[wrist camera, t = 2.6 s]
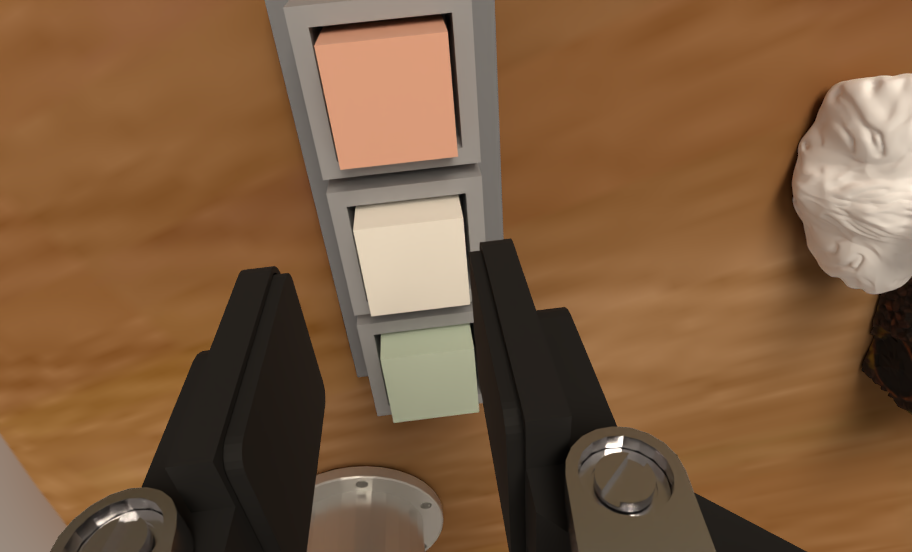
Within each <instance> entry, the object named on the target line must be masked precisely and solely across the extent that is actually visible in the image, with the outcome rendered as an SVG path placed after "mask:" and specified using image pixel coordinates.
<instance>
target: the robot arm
mask: <svg viewBox="0 0 912 552" xmlns="http://www.w3.org/2000/svg"><path fill="white" fill-rule="evenodd" d="M479 249H480V251H472V252H469V269H470V281H471V294H472V306H473V319H474V332H475V344H476V357H477V368H478V377H479V384H480V389H481V395H482V401H483V406H484V412H485V418H486V423H487V429H488V435H489V440H490V446H491V452H492V457H493V463H494V468H495V474H496V480H497V485H498V491H499V497H500V502H501V508H502V514H503V519H504V525H505V531H506V536H507V542H508V547H509V552H806V551H804V550H802V549H801V548H799V547H797V546H795V545H793V544H791V543H789V542H787V541H785V540H783V539H782V538H780V537H778V536H776V535H774V534H772V533H770V532H768V531H766V530H764V529H763V528H761V527H759V526H757V525H755V524H753V523H751V522H749V521H747V520H745V519H744V518H742V517H740V516H738V515H736V514H734V513H732V512H730V511H728V510H726V509H725V508H723V507H721V506H719V505H717V504H715V503H713V502H711V501H709V500H707V499H706V498H704V497H702V496H700V495H698V494H696V493H694V491H693V489H692V486H691V483H690V481H689V478H688V475H687V473H686V470H685V469H684V467H683V465H682V463H681V461H680V460H679V458H678V456H677V455H676V454H675V453H674V452H673V451H672V450H671V449H670V448H669V447H668V446H667V445H666V444H665V443H664V442H662V441H660V440H659V439H657V438H655V437H653V436H652V435H650V434H648V433H645V432H642V431H639V430H636V429H633V428H627V427H617V425H616V423H615V420H614V418H613V415H612V413H611V411H610V408H609V406H608V403H607V401H606V398H605V396H604V394H603V391H602V389H601V386H600V384H599V382H598V379H597V377H596V374H595V372H594V370H593V367H592V365H591V362H590V360H589V358H588V355H587V353H586V350H585V348H584V345H583V343H582V341H581V338H580V336H579V333H578V331H577V329H576V326H575V324H574V321H573V319H572V317H571V314H570V313H569V311H568V309H567V308H565V307H562V308H553V309H545V310H537V311H536V309H535V306H534V303H533V300H532V297H531V294H530V291H529V288H528V285H527V282H526V279H525V276H524V273H523V271H522V268H521V265H520V262H519V259H518V256H517V253H516V250H515V247H514V244H513V241H512V239H503V240H494V241H486V242H480V246H479ZM324 409H325V389H324V384H323V380H322V377H321V374H320V370H319V367H318V364H317V360H316V357H315V353H314V350H313V347H312V343H311V340H310V337H309V333H308V330H307V327H306V323H305V320H304V316H303V313H302V310H301V306H300V303H299V300H298V296H297V293H296V290H295V286H294V283H293V280H292V277H291V275H290V274H289V273H285V274H280V271H279V270H278V268H277V267H275V266H273V267H264V268H256V269H247V270H242V271H241V272H240V273H239V275H238V278H237V281H236V283H235V286H234V288H233V291H232V294H231V296H230V299H229V301H228V304H227V307H226V309H225V312H224V315H223V317H222V320H221V322H220V325H219V328H218V330H217V333H216V335H215V338H214V341H213V343H212V346H211V348H210V350H208V351H202V352H200V353H199V354H197V356H196V357H195V359H194V361H193V363H192V365H191V368H190V370H189V373H188V375H187V378H186V380H185V382H184V385H183V387H182V390H181V392H180V395H179V397H178V400H177V402H176V404H175V407H174V409H173V412H172V414H171V417H170V419H169V422H168V424H167V426H166V429H165V431H164V434H163V436H162V439H161V441H160V443H159V446H158V448H157V451H156V453H155V456H154V458H153V461H152V463H151V465H150V468H149V470H148V473H147V475H146V478H145V480H144V483H143V485H142V487H141V488H130V489H127V490H123V491H120V492H117V493H114V494H111V495H109V496H107V497H105V498H104V499H102V500H100V501H98V502H96V503H94V504H93V505H91V506H90V507H88V508H87V509H86V510H85V511H83V512H82V513H81V514H80V515H78V516H77V517H76V518H75V519H73V520H72V522H71V523H70V524H69V525H68V526H67V527H66V528H65V530H64V531H63V532H62V533H61V534H60V535H59V536H58V539H57V540H56V542H55V544H54V545H53V547H52V549H51V551H50V552H425V551H426V550H427V549H429V548H430V547H431V546H432V545H433V544H434V542H435V541H436V540H437V539H438V537H439V535H440V533H441V531H442V526H443V511H442V505H441V502H440V499H439V497H438V496H437V495H436V493H435V492H434V490H433V489H432V488H430V487H429V486H428V485H427V484H426V483H425V482H423V481H421V480H419V479H418V478H416V477H414V476H412V475H410V474H407V473H404V472H401V471H398V470H393V469H389V468H384V467H371V466H359V467H347V468H341V469H335V470H331V471H328V472H325V473H322V474H319V475H316V474H317V466H318V458H319V450H320V442H321V434H322V425H323V417H324Z"/></svg>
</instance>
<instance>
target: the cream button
mask: <svg viewBox="0 0 912 552" xmlns="http://www.w3.org/2000/svg"><path fill="white" fill-rule="evenodd" d="M353 232H354V237H355V242H356V246H357V251H358V256H359V261H360V265H361V270H362V275H363V280H364V284H365V289H366V294H367V299H368V303H369V308H370V313H371V316H379V315H387V314H396V313H404V312H412V311H420V310H429V309H437V308H445V307H454V306H462V305H470V295H469V283H468V271H467V258H466V246H465V234H464V222H463V215H462V210H461V205H460V201H459V196H458V194H455V195H446V196H437V197H429V198H420V199H411V200H402V201H394V202H385V203H376V204H367V205H359V206H356V208H355V218H354V227H353Z"/></svg>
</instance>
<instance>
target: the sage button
mask: <svg viewBox="0 0 912 552" xmlns="http://www.w3.org/2000/svg"><path fill="white" fill-rule="evenodd" d="M380 360H381V365H382V370H383V374H384V379H385V384H386V389H387V393H388V398H389V403H390V408H391V412H392V417H393V422H394V423H397V422H405V421H413V420H421V419H429V418H437V417H445V416H452V415H460V414H468V413H476V412H479V404H478V392H477V379H476V367H475V355H474V346H473V340H472V334H471V329H470V323H466V324H458V325H450V326H441V327H433V328H425V329H417V330H409V331H400V332H392V333H384V334H381V356H380Z"/></svg>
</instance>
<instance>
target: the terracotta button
mask: <svg viewBox="0 0 912 552" xmlns="http://www.w3.org/2000/svg"><path fill="white" fill-rule="evenodd" d="M314 47H315V52H316V57H317V61H318V66H319V71H320V76H321V80H322V85H323V90H324V95H325V99H326V104H327V109H328V114H329V118H330V123H331V128H332V133H333V138H334V142H335V147H336V152H337V157H338V161H339V166H340V170H344V169H353V168H362V167H371V166H380V165H388V164H397V163H406V162H415V161H424V160H433V159H442V158H451V157H458V150H457V138H456V126H455V114H454V101H453V89H452V77H451V65H450V53H449V40H448V31H447V28H446V26H445V23H444V20H443V18H442V15H441V14H435V15H425V16H416V17H406V18H396V19H387V20H377V21H368V22H358V23H348V24H339V25H329V26H323V28H322V30H321V32H320V34H319V37H318V39H317V41H316V43H315V45H314Z"/></svg>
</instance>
